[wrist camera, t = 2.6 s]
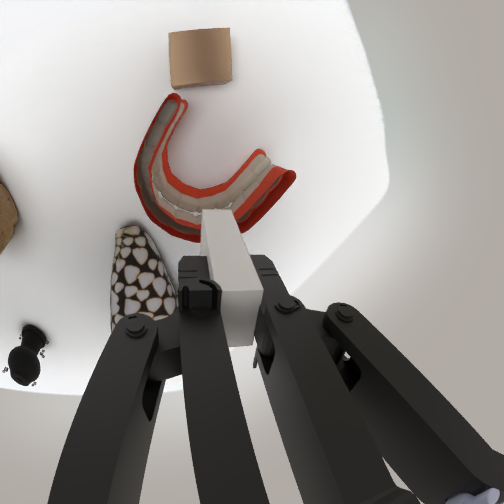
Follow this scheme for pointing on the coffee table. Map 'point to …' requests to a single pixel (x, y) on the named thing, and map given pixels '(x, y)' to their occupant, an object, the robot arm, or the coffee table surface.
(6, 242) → the brown rock
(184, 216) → the toy
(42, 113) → the coffee table surface
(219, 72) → the walnut block
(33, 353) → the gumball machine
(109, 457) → the robot arm
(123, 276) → the seashell
